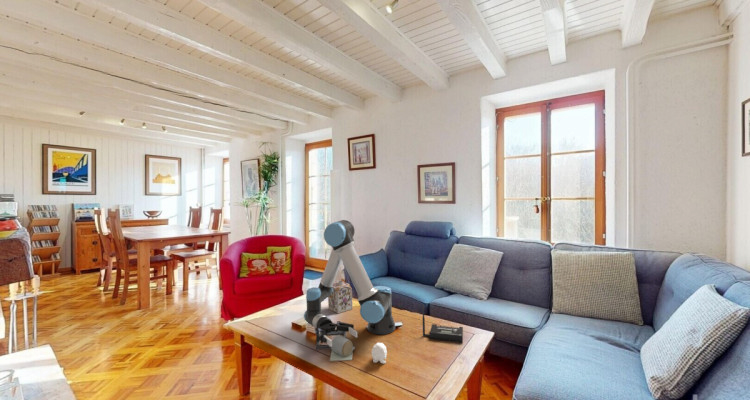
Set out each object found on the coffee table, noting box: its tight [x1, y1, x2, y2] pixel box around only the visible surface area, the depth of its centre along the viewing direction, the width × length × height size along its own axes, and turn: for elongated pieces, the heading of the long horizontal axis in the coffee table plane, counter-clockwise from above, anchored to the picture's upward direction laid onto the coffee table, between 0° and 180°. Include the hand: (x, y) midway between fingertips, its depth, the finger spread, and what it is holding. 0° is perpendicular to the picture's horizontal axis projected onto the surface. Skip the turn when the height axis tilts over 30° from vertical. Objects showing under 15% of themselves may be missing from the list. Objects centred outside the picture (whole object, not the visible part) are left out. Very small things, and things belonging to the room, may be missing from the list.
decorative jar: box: [327, 280, 353, 314], centre depth 203 cm, size 12×12×18 cm
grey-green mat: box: [329, 350, 354, 362], centre depth 147 cm, size 10×10×1 cm
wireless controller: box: [422, 304, 464, 344], centre depth 163 cm, size 20×14×17 cm
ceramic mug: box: [331, 334, 356, 356], centre depth 148 cm, size 11×8×8 cm
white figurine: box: [371, 342, 388, 365], centre depth 142 cm, size 6×8×12 cm
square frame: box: [315, 331, 348, 350], centre depth 160 cm, size 14×16×2 cm
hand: (344, 338), depth 144 cm, fingers open, 13 cm apart
